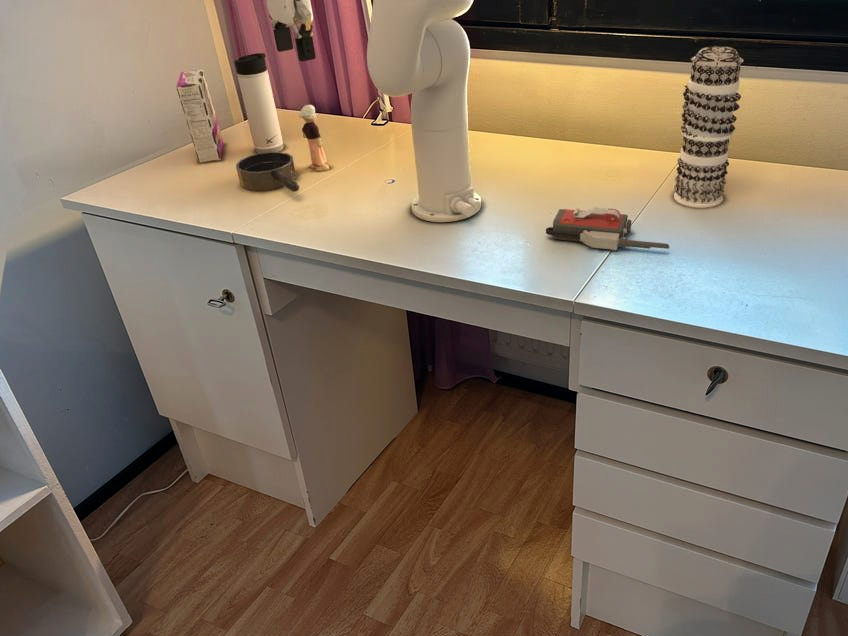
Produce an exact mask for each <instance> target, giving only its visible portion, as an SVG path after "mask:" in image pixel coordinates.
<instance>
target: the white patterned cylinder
mask: <svg viewBox="0 0 848 636" xmlns="http://www.w3.org/2000/svg"><path fill="white" fill-rule="evenodd" d="M690 62H691V70H690V77H689V78H688V83H687V84H686V85H684V91H683V92H682V96H683V100H684V102H683V104H682V109H683V113H681V121H682V125H681V127H680V129H681V135H682V136H683V137H682V138H683V139H682V146H681V147H680V155H679V158H677V165H678V166H677V167H676V173H677V175H676V176H675V178H674V181H675V185H674V186H673V187H674V193H673V198H674V200H675V201H676V202H677V203H678V204H680V205H683V206H686V207H691V208H697V209H698V208H701V209H705V208H712V207H715V206H718V205H720V204H721V203H722V202H723V201H724V198H723V197H724V196H723V194H724V193H725V191H726V190H725V185H726V184H727V180H726V175H727V174H728V170H727V168H728V166H729V165H730V162H729V159H728V157H729V152H730V151H729V145H730V139H731V138H732V137H733V135H734V131H735V130H736V126H734V123H736V121H737V119H738V118H737V116H735V115H734V112H736V111H737V110H739V109H740V105H739V104H738V103H737V102H738V101H740V100H741V98H742V95H741V94H740V93H739V87H740V82H741V81H740V80H741V79H740V74H741V65H742V64H743V62H744V58H742V57H740V55H739V53H738V51H737V50H736V49H735V48H733V47H731V46H722V45H711V46H706V47H703V48H701V49H700V50H699V51H698V52H697V53H696V55H694V56H692V58H690Z"/></svg>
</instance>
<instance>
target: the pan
mask: <svg viewBox="0 0 848 636" xmlns="http://www.w3.org/2000/svg"><path fill="white" fill-rule="evenodd" d="M235 165H236V166H235V169H236V172H237V176H238V179H239V180H238V181H239V184H240V185H241V187H243V188H245V189H247V190H249V191H254V192H269V191H274V190H278V189H282V188H285V186H284V185H283V184H281V183H280V182H279V181H277V180H276V179H274V178H273V172H274V171H275V170H279V171H281V172H282V173H284V174H285V175H286V176H288V177H289V178H291V179H292V180H294V181H295V179H296V178H297V170H296V166H295V161H294V156H293V155H291V154H290V153H288V152H283V151H279V152H265V153H255V154H250V155H248V156H246V157H244V158H241V159H240V160H239V161H238V162H236V164H235Z"/></svg>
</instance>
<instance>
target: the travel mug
mask: <svg viewBox="0 0 848 636" xmlns="http://www.w3.org/2000/svg"><path fill="white" fill-rule="evenodd" d="M266 57H267V56H266V53H265V52H257V53H252V54H247V55H244V56H240V57H239V58H238V59H235V60H234V68H235V71H236V76H237V80H238V86H239V88H240V93H241V97H242V102H243V106H244V110H245V114H246V118H247V122H248V127H249V131H250V136H251V139H252V144H253V148H254V151H255V153H256V154H258V153H265V152H282V151H283V150H284V147H285V146H284V142H283V137H282V131H281V127H280V122H279V117H278V113H277V108H276V104H275V98H274V93H273V90H272V85H271V80H270V75H269V71H268V67H267V63H266Z"/></svg>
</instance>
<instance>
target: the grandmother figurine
mask: <svg viewBox="0 0 848 636" xmlns="http://www.w3.org/2000/svg"><path fill="white" fill-rule="evenodd" d="M298 117H299V118H300V119H303V120H304V122H305V123H304V124H303V126H302V127H301V132H302V137H303V138H304V139H307V142H308V147H309V148H308V149H309V151H310V153H309V154H310V158H311V164H310V166H309V167H310V168H311V169H315V171H316V172H321V171H327V170H329V169H330V166H329V165H328V164H327V157H326V154H325V151H324V148H323V144H322V136H321V134H320V130H319V126H318V125H317V124H316V123H315V122H316V121H317V113H316V108H315V106H314V105H313V104H306V105H304V106H303V107H302V108H301V109H300V112H299V114H298Z"/></svg>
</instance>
